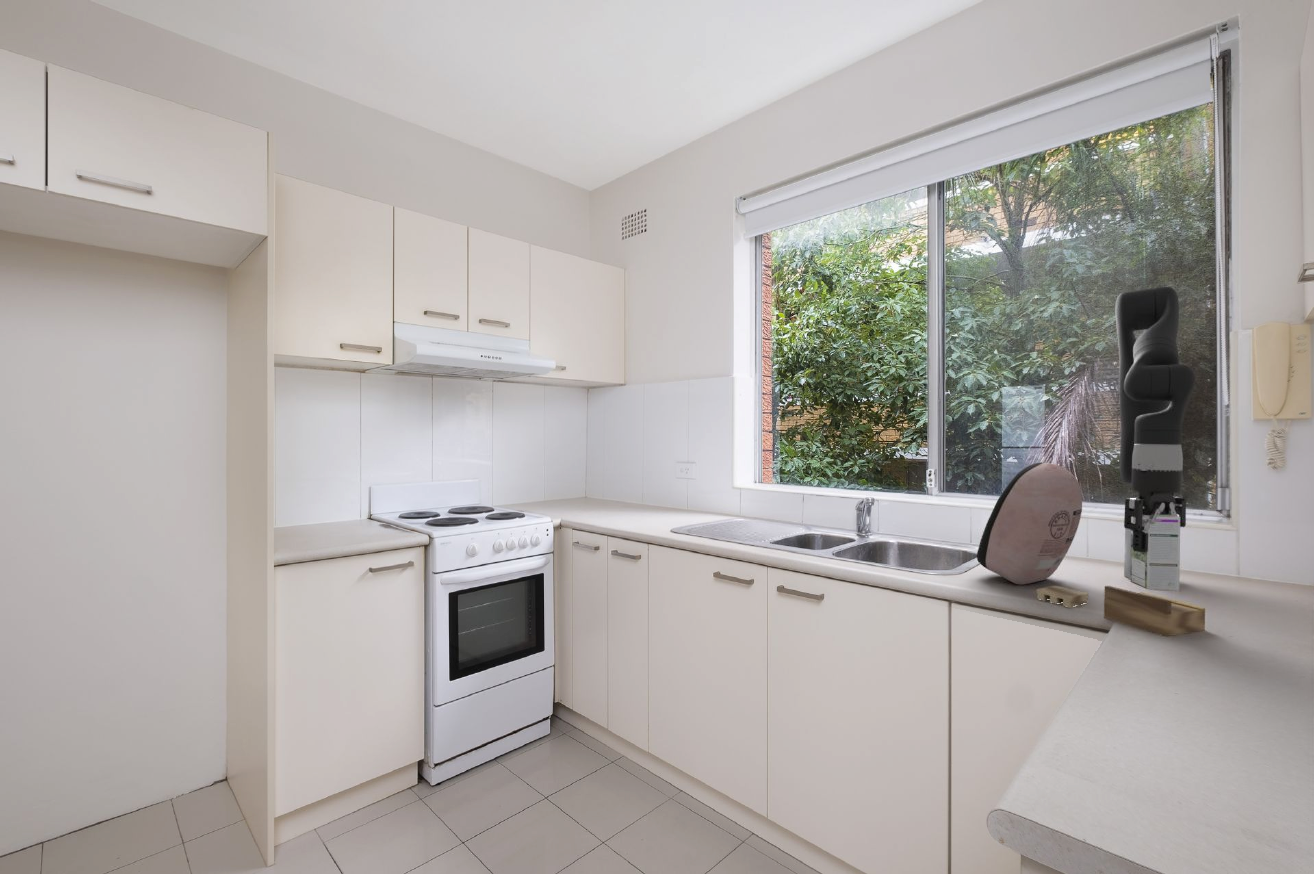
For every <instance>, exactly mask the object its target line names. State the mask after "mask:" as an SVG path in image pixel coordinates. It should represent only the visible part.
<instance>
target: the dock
mask: <svg viewBox="0 0 1314 874" xmlns="http://www.w3.org/2000/svg"><path fill="white" fill-rule="evenodd" d="M1103 596H1104V597H1103V598H1104V601H1103V603H1104V604H1103V618H1104V619H1107V620H1110V621H1113V622H1116V623H1121V624H1124V625H1128V626H1130V627H1133V628H1137V629H1141V630H1144V631H1147V632H1150V631H1151V633H1153V632H1154V634H1158V635H1160V634H1161V635H1160V636H1164V637H1171V636H1177V634H1178V635H1184V634H1190V633H1195V632H1203V631H1205V630H1206V629H1205V628H1206V626H1205V625H1206V608H1205V607H1204V606H1203V607H1202V606H1198V605H1195V604H1189V603H1187V602H1182V601H1178V600H1174V599H1169V598H1165V597H1163V596H1157V595H1154V594H1150V593H1145V592H1142V591H1141V592H1135V591H1132V590H1128V589H1125V588H1124V589H1123V588H1120V587H1116V586H1111V585H1105V586H1104V595H1103Z"/></svg>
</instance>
